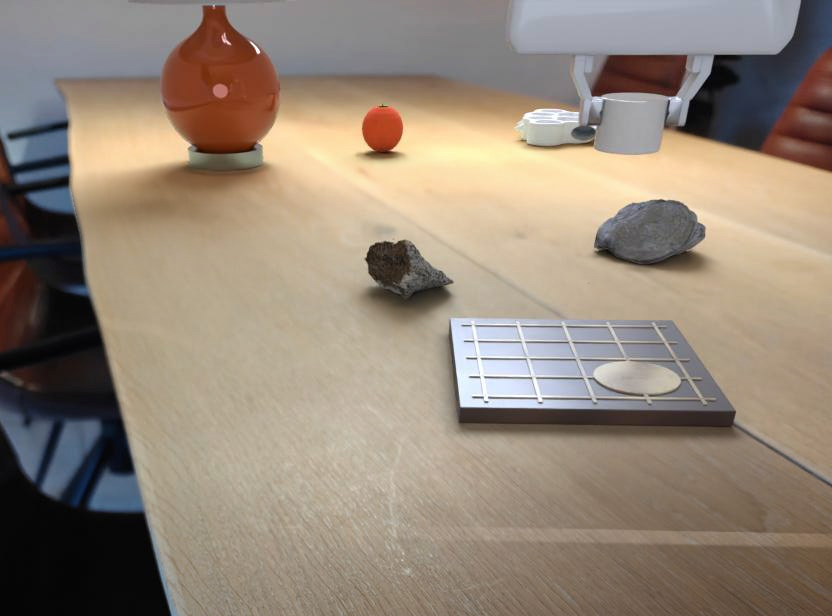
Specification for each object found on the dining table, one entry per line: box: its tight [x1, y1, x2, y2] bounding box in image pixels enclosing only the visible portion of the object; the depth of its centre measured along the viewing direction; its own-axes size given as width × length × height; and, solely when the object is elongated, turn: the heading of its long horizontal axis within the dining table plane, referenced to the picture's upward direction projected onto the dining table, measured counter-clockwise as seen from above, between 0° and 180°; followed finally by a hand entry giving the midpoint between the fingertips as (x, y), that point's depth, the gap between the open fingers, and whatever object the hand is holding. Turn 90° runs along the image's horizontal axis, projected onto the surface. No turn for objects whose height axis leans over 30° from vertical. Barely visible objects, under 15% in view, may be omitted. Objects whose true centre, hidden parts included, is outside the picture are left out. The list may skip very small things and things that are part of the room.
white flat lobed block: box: [513, 108, 597, 147], centre depth 163 cm, size 3×18×15 cm
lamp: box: [127, 0, 296, 171], centre depth 135 cm, size 25×25×39 cm
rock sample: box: [363, 234, 455, 300], centre depth 91 cm, size 10×8×9 cm
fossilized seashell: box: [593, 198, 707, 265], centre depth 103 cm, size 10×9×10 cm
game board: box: [448, 317, 737, 427], centre depth 74 cm, size 20×20×1 cm
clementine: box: [361, 103, 404, 153], centre depth 152 cm, size 8×7×7 cm
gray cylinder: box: [593, 92, 669, 156], centre depth 69 cm, size 5×5×4 cm
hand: (630, 125), depth 69 cm, fingers closed on gray cylinder, 5 cm apart
